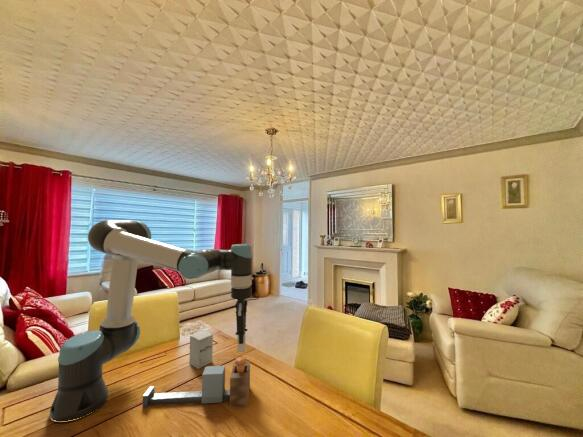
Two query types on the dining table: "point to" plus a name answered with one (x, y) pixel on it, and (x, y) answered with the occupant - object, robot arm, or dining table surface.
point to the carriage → (213, 384)
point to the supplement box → (201, 349)
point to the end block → (239, 386)
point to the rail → (175, 397)
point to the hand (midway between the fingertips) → (241, 350)
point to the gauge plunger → (240, 364)
